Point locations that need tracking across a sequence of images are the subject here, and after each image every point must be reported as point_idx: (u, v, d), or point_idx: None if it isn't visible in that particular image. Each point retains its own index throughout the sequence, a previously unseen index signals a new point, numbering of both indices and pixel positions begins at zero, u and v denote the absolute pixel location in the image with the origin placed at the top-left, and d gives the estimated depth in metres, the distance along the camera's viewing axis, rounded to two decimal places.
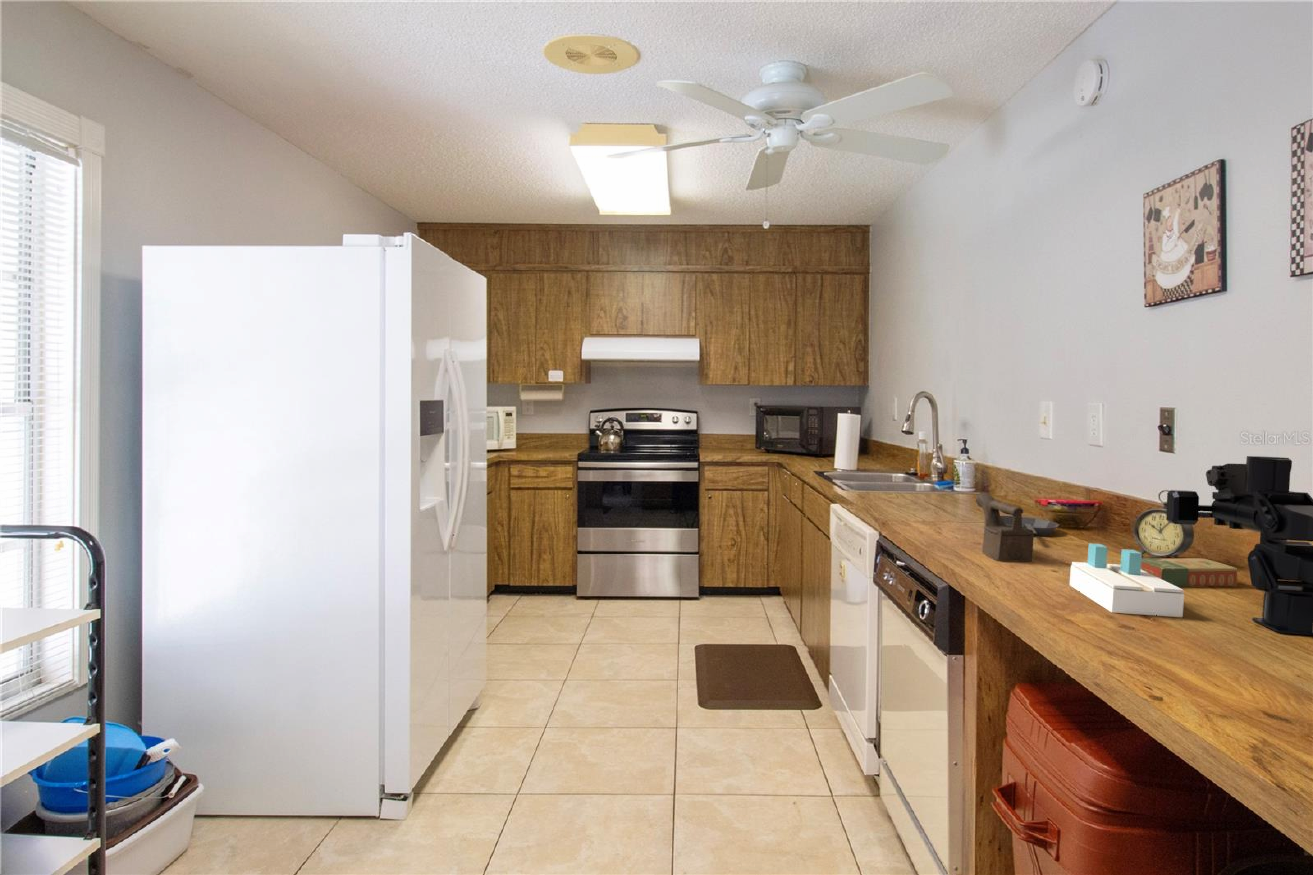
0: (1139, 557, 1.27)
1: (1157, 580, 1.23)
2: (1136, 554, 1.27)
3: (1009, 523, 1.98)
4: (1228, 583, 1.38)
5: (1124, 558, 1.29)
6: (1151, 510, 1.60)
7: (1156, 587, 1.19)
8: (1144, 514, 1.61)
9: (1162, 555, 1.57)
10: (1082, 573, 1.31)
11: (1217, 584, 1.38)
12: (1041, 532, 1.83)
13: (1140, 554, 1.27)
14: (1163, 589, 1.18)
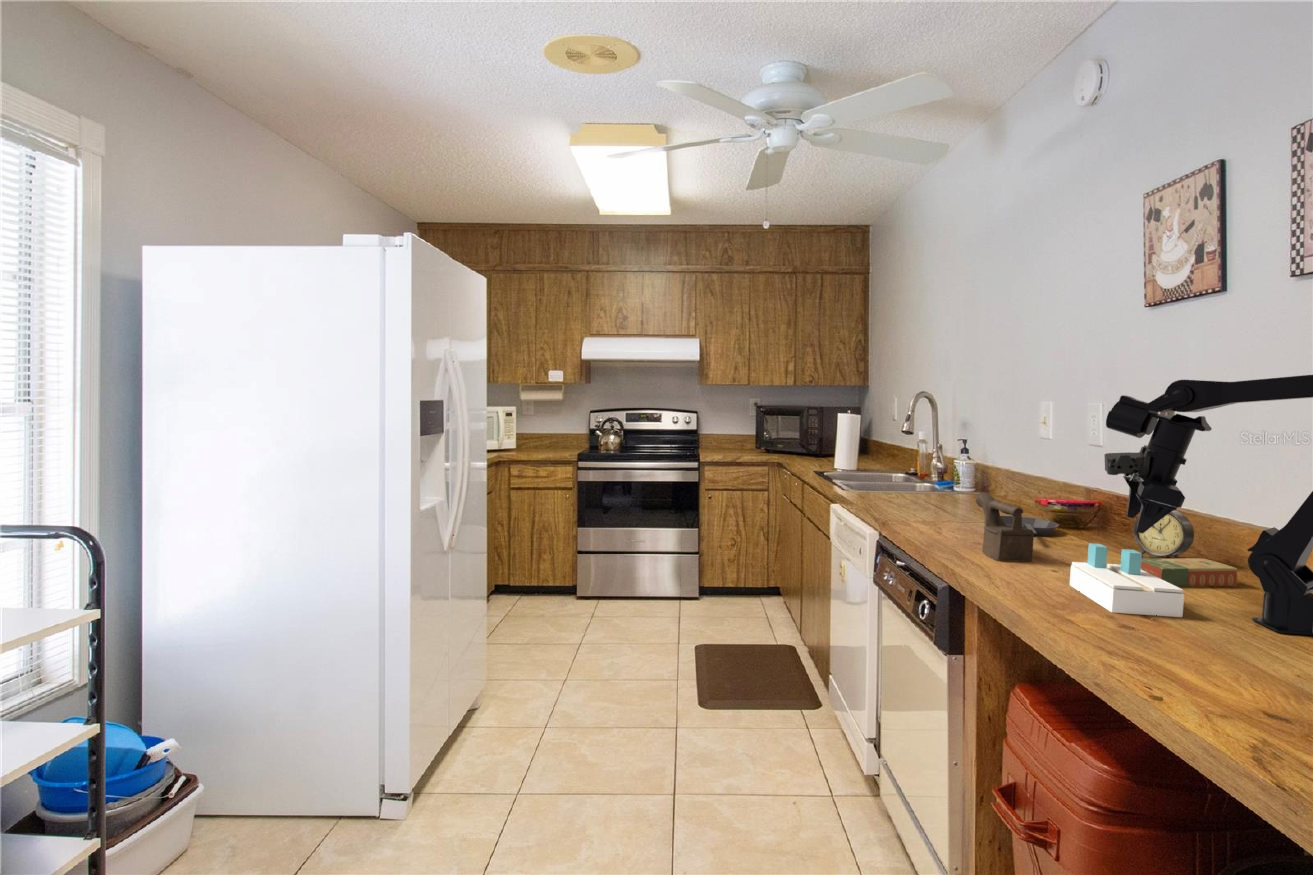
0: (1139, 557, 1.27)
1: (1157, 580, 1.23)
2: (1136, 554, 1.27)
3: (1009, 523, 1.98)
4: (1228, 583, 1.38)
5: (1124, 558, 1.29)
6: None
7: (1156, 587, 1.19)
8: None
9: (1162, 555, 1.57)
10: (1082, 573, 1.31)
11: (1217, 584, 1.38)
12: (1041, 532, 1.83)
13: (1140, 554, 1.27)
14: (1163, 589, 1.18)
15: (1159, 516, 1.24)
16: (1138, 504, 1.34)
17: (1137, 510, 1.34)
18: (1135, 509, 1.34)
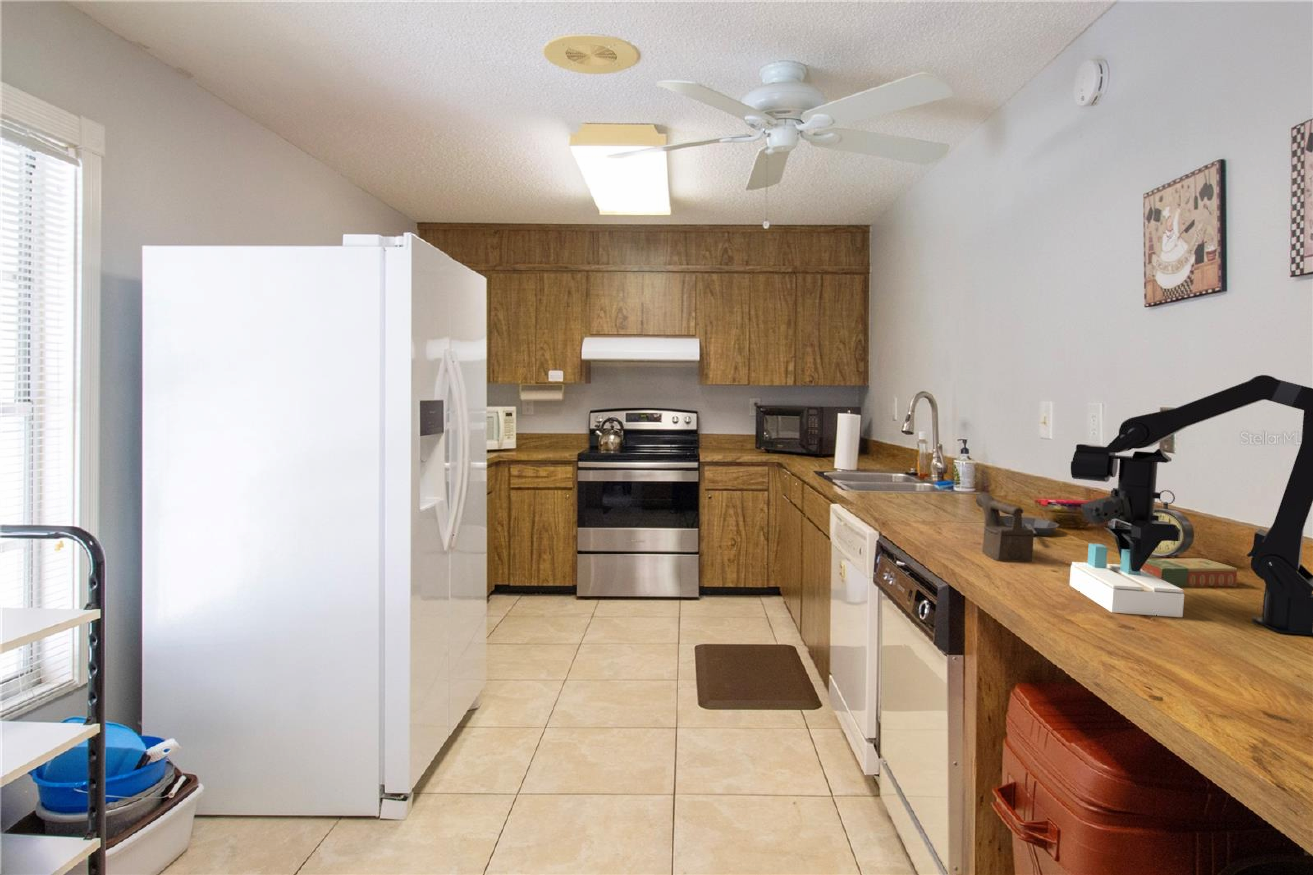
0: None
1: (1157, 580, 1.23)
2: None
3: (1009, 523, 1.98)
4: (1228, 583, 1.38)
5: (1124, 558, 1.29)
6: None
7: (1156, 587, 1.19)
8: None
9: (1162, 555, 1.57)
10: (1082, 573, 1.31)
11: (1217, 584, 1.38)
12: (1041, 532, 1.83)
13: None
14: (1163, 589, 1.18)
15: (1149, 550, 1.25)
16: None
17: None
18: None
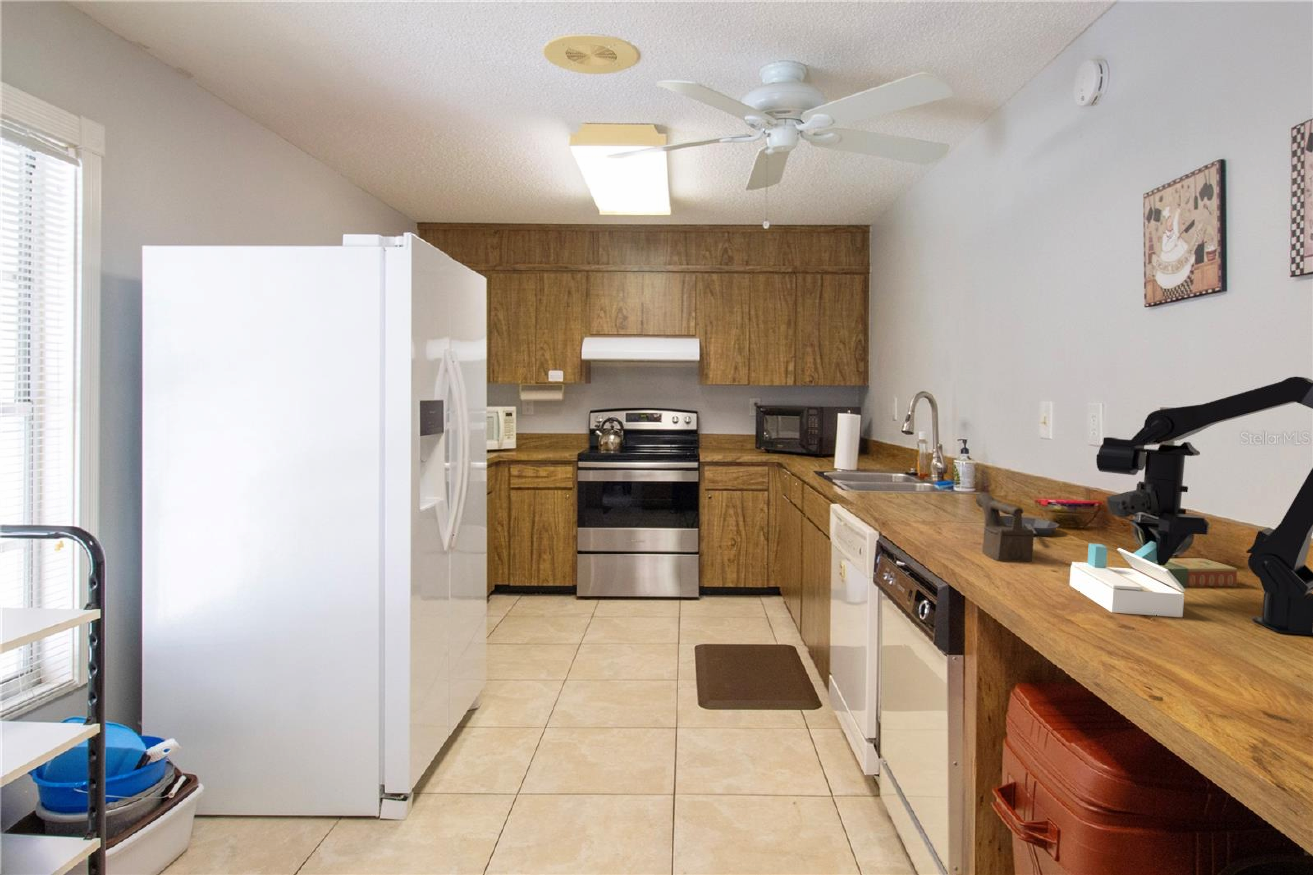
0: None
1: (1162, 576, 1.23)
2: None
3: (1009, 523, 1.98)
4: (1228, 583, 1.38)
5: (1147, 547, 1.28)
6: None
7: None
8: None
9: None
10: (1082, 573, 1.31)
11: (1217, 584, 1.38)
12: (1041, 532, 1.83)
13: None
14: (1172, 577, 1.18)
15: (1176, 544, 1.24)
16: None
17: None
18: None
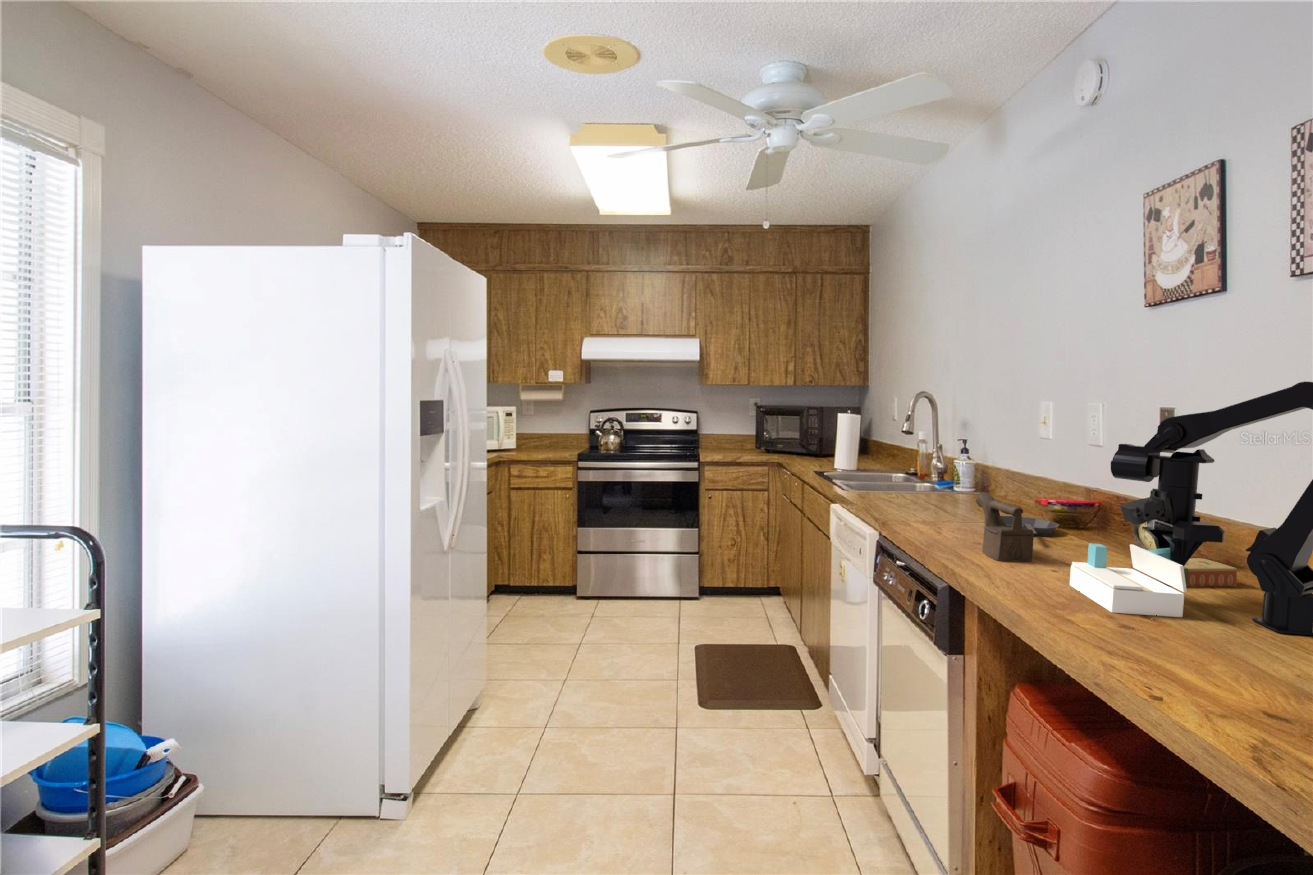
0: None
1: None
2: None
3: (1009, 523, 1.98)
4: (1228, 583, 1.38)
5: (1164, 550, 1.28)
6: None
7: None
8: None
9: None
10: (1082, 573, 1.31)
11: (1217, 584, 1.38)
12: (1041, 532, 1.83)
13: None
14: (1183, 574, 1.18)
15: (1191, 552, 1.24)
16: None
17: None
18: None
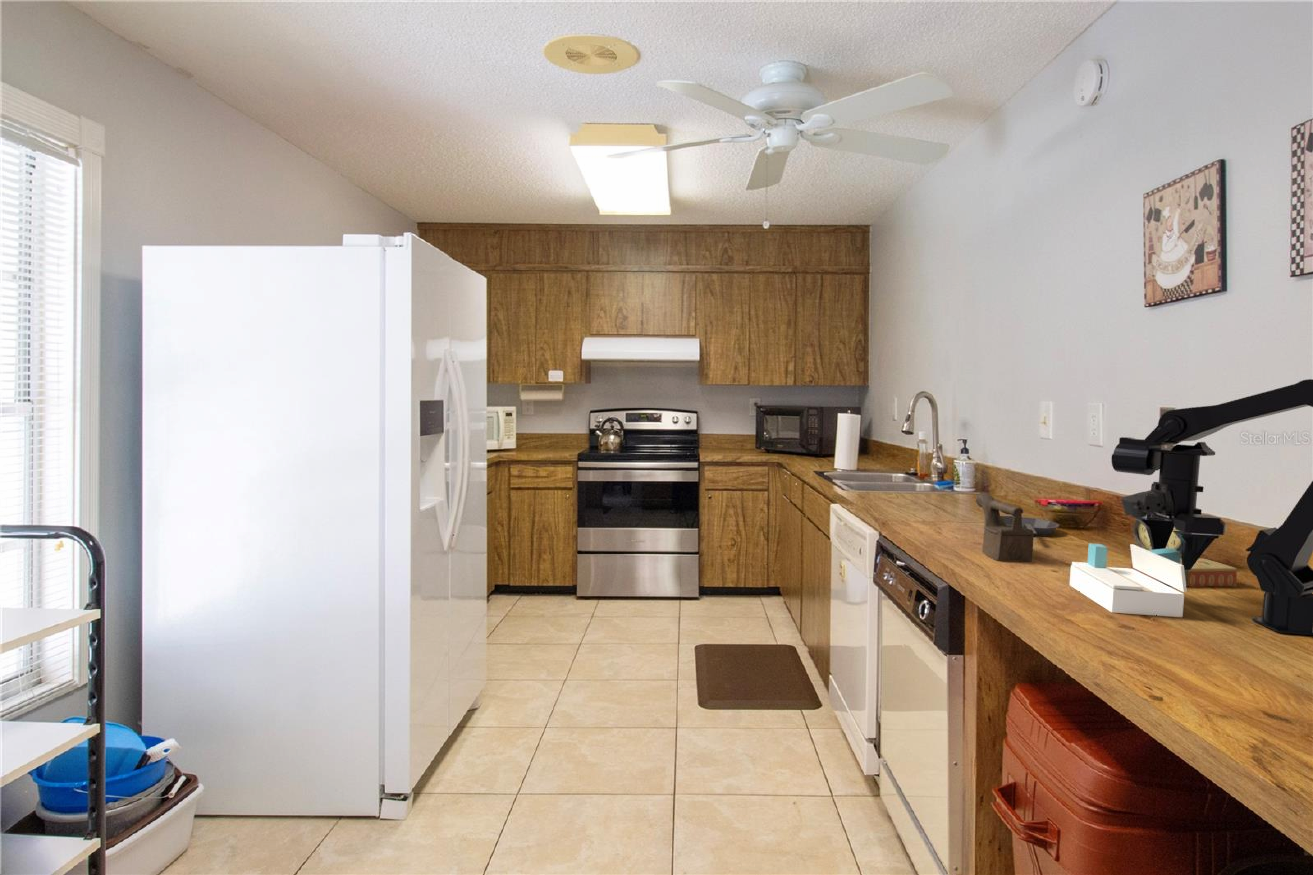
0: (1175, 561, 1.26)
1: None
2: (1178, 557, 1.26)
3: (1009, 523, 1.98)
4: (1228, 583, 1.38)
5: (1165, 550, 1.28)
6: None
7: None
8: None
9: None
10: (1082, 573, 1.31)
11: (1217, 584, 1.38)
12: (1041, 532, 1.83)
13: (1179, 561, 1.26)
14: (1183, 574, 1.18)
15: (1202, 548, 1.21)
16: (1161, 542, 1.32)
17: (1162, 548, 1.31)
18: (1160, 548, 1.31)
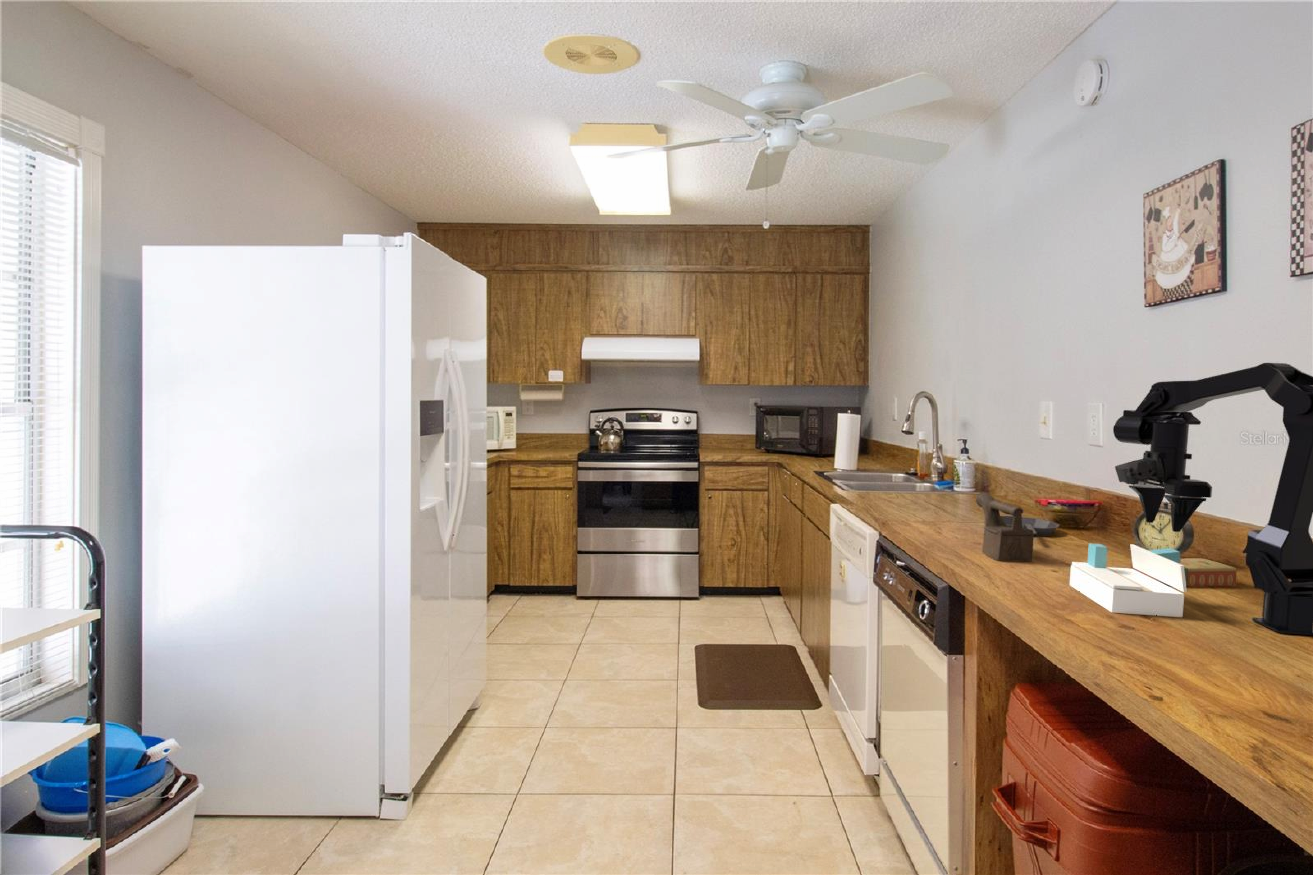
0: (1175, 561, 1.26)
1: None
2: (1178, 557, 1.26)
3: (1009, 523, 1.98)
4: (1228, 583, 1.38)
5: (1165, 550, 1.28)
6: None
7: None
8: None
9: None
10: (1082, 573, 1.31)
11: (1216, 584, 1.38)
12: (1041, 532, 1.83)
13: (1179, 561, 1.26)
14: (1183, 574, 1.18)
15: (1190, 511, 1.29)
16: (1153, 508, 1.40)
17: (1154, 514, 1.39)
18: (1152, 514, 1.40)
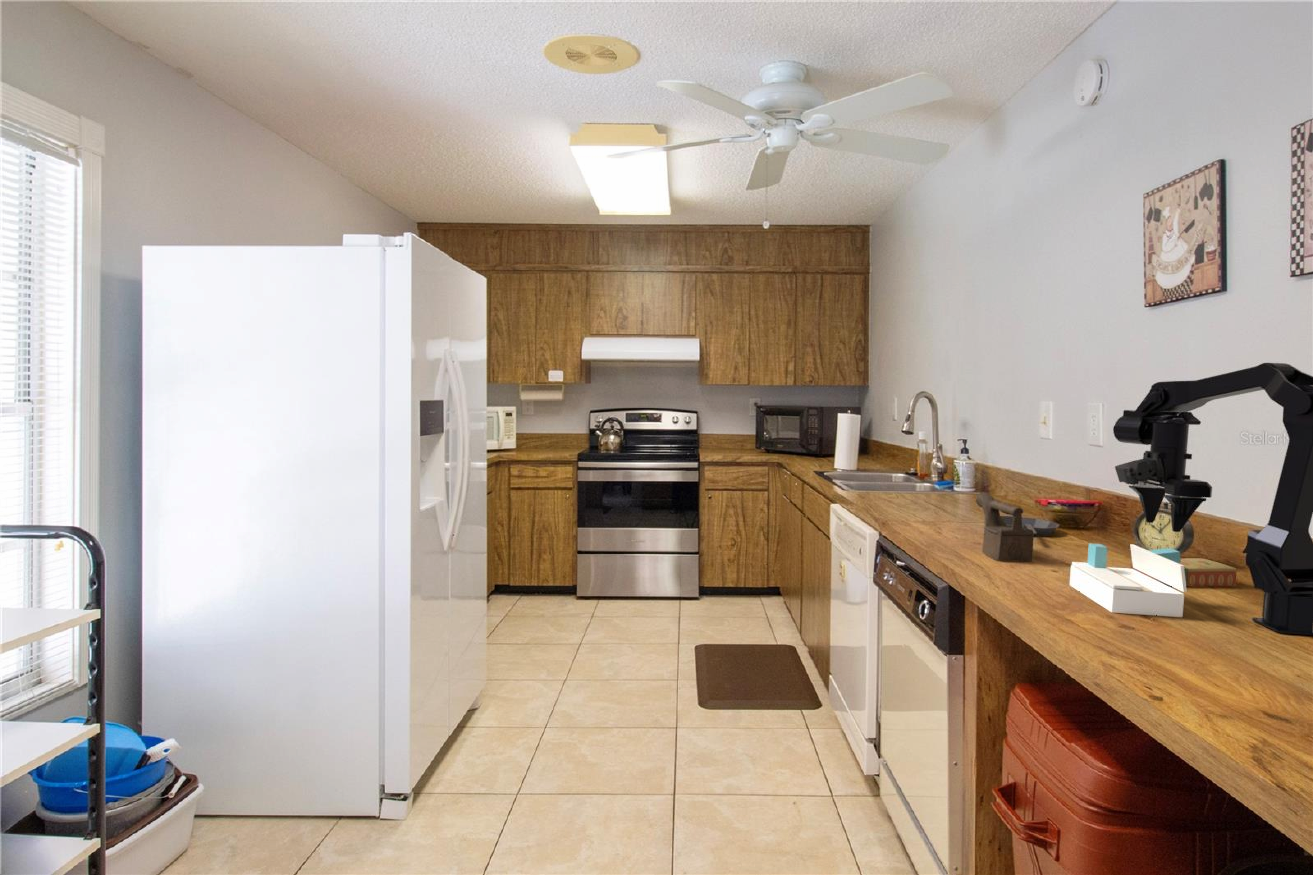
0: (1175, 561, 1.26)
1: None
2: (1178, 557, 1.26)
3: (1009, 523, 1.98)
4: (1228, 583, 1.38)
5: (1165, 550, 1.28)
6: None
7: None
8: None
9: None
10: (1082, 573, 1.31)
11: (1216, 584, 1.38)
12: (1041, 532, 1.83)
13: (1179, 561, 1.26)
14: (1183, 574, 1.18)
15: (1190, 511, 1.29)
16: (1153, 508, 1.40)
17: (1154, 514, 1.39)
18: (1152, 514, 1.40)
